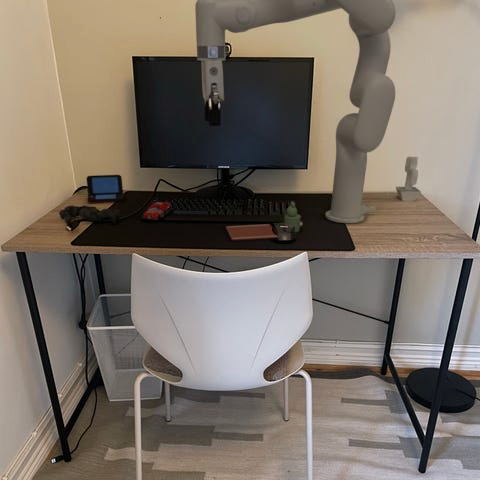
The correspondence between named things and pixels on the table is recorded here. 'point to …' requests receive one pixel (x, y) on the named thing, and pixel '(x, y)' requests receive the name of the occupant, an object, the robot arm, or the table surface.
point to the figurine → (409, 181)
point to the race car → (157, 211)
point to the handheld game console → (104, 188)
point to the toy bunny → (293, 217)
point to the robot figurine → (89, 214)
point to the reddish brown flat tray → (251, 232)
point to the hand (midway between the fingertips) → (212, 123)
